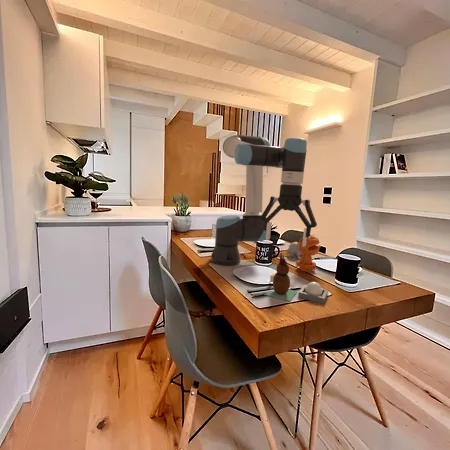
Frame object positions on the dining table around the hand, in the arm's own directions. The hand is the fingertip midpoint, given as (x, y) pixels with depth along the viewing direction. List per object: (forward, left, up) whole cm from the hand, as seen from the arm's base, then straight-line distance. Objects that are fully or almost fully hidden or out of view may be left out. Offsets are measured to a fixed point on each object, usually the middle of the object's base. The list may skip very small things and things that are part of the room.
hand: (285, 242), depth 98 cm
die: (-5, +8, -20) cm, 22 cm away
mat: (0, 0, -20) cm, 20 cm away
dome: (+11, +5, -20) cm, 24 cm away
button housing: (+11, +5, -20) cm, 23 cm away
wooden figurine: (0, 0, -20) cm, 20 cm away
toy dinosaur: (+2, +35, -20) cm, 40 cm away
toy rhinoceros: (-7, +53, -20) cm, 57 cm away
